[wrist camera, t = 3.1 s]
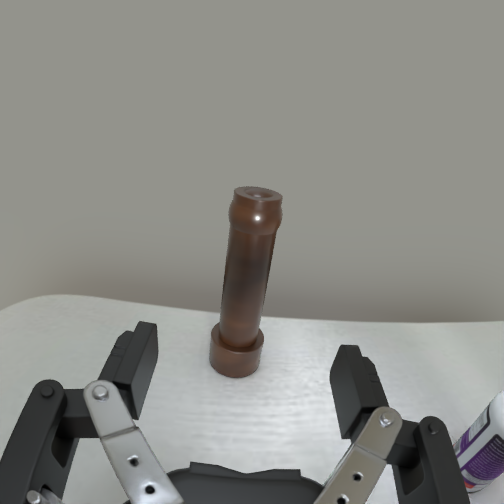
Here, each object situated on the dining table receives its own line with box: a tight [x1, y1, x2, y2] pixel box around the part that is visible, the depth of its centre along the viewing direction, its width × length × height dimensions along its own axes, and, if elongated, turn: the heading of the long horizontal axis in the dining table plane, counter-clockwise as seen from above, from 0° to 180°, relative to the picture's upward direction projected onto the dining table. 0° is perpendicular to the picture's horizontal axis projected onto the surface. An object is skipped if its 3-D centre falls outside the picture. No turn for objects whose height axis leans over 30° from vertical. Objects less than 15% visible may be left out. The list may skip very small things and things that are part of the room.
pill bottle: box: [453, 390, 504, 492], centre depth 15 cm, size 5×5×10 cm
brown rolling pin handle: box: [209, 187, 282, 378], centre depth 24 cm, size 4×4×15 cm
